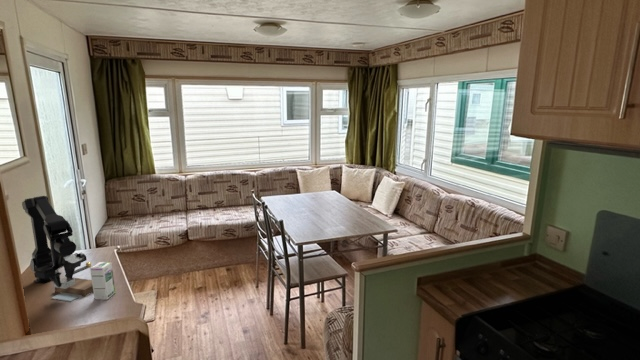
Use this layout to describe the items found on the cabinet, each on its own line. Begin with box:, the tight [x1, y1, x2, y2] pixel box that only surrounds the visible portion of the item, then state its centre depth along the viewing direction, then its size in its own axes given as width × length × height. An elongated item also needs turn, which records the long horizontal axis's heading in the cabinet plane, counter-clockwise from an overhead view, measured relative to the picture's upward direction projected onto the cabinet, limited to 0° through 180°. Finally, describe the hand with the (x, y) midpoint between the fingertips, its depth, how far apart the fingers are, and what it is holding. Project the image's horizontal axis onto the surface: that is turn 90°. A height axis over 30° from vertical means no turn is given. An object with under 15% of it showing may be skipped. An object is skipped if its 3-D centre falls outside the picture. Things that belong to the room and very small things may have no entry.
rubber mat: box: [51, 292, 82, 303], centre depth 147 cm, size 10×5×1 cm, turn 77°
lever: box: [64, 261, 92, 277], centre depth 159 cm, size 12×2×5 cm, turn 161°
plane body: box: [54, 277, 94, 297], centre depth 154 cm, size 16×8×3 cm, turn 77°
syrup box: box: [89, 261, 116, 301], centre depth 147 cm, size 6×6×14 cm
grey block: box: [52, 276, 76, 289], centre depth 146 cm, size 6×4×2 cm
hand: (64, 284), depth 146 cm, fingers closed on grey block, 4 cm apart
